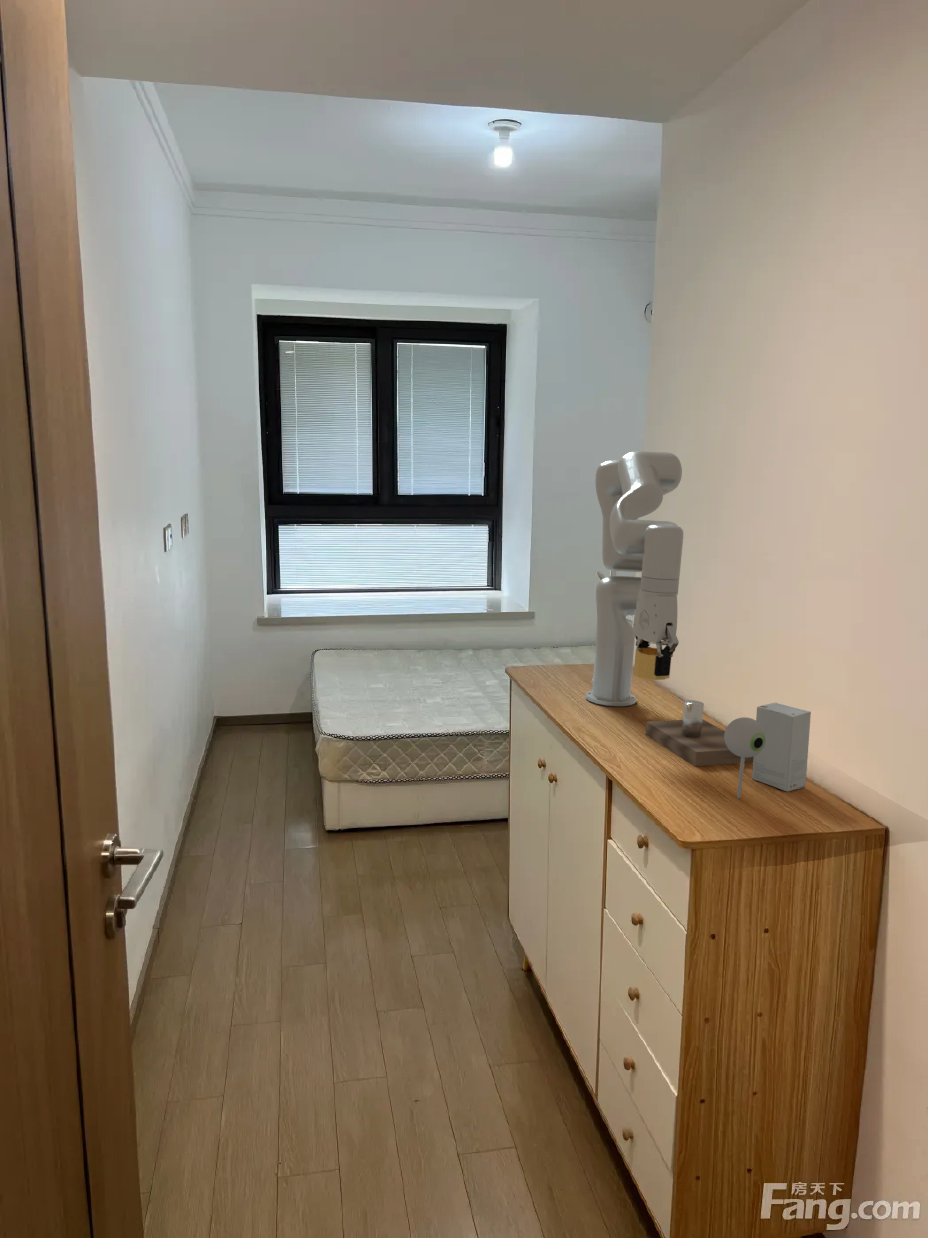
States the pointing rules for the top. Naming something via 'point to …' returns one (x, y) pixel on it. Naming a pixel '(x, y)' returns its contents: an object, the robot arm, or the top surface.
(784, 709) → the skincare box
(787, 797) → the top surface
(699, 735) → the piston post
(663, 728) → the walnut stand
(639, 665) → the brass ring
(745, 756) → the lollipop
